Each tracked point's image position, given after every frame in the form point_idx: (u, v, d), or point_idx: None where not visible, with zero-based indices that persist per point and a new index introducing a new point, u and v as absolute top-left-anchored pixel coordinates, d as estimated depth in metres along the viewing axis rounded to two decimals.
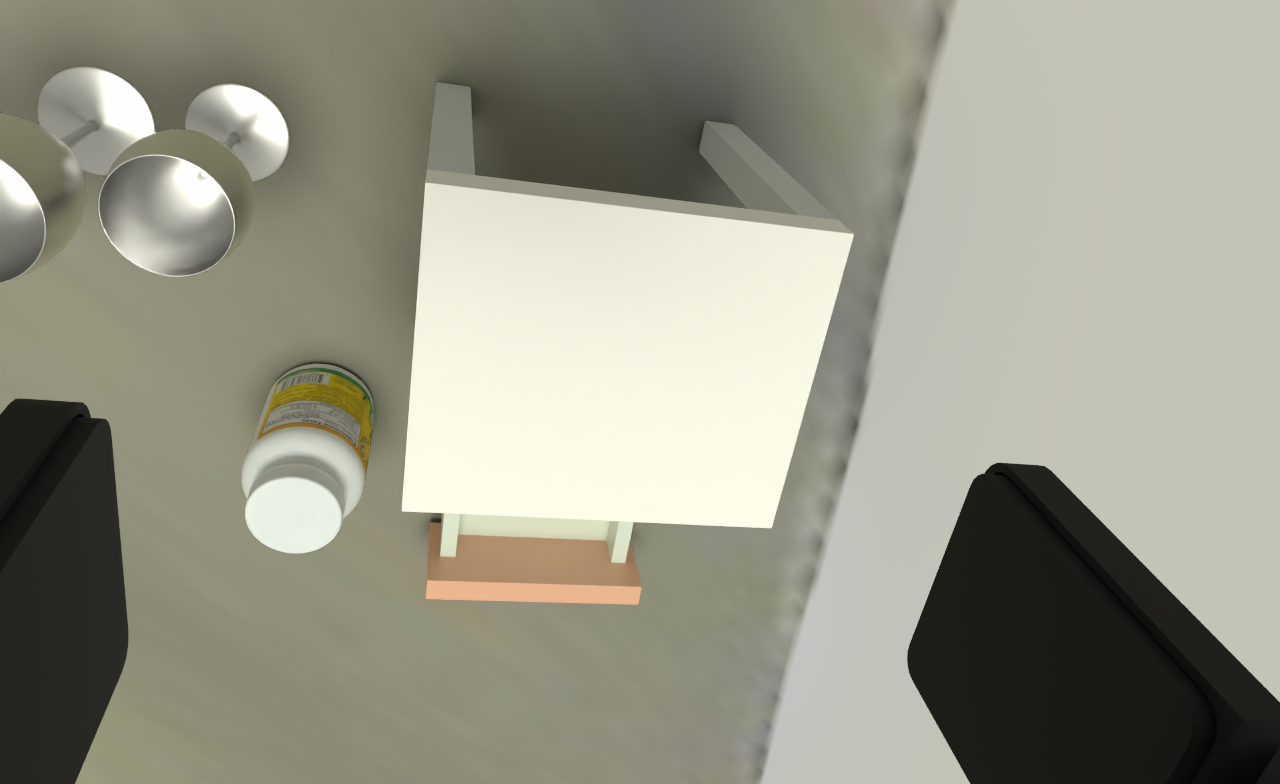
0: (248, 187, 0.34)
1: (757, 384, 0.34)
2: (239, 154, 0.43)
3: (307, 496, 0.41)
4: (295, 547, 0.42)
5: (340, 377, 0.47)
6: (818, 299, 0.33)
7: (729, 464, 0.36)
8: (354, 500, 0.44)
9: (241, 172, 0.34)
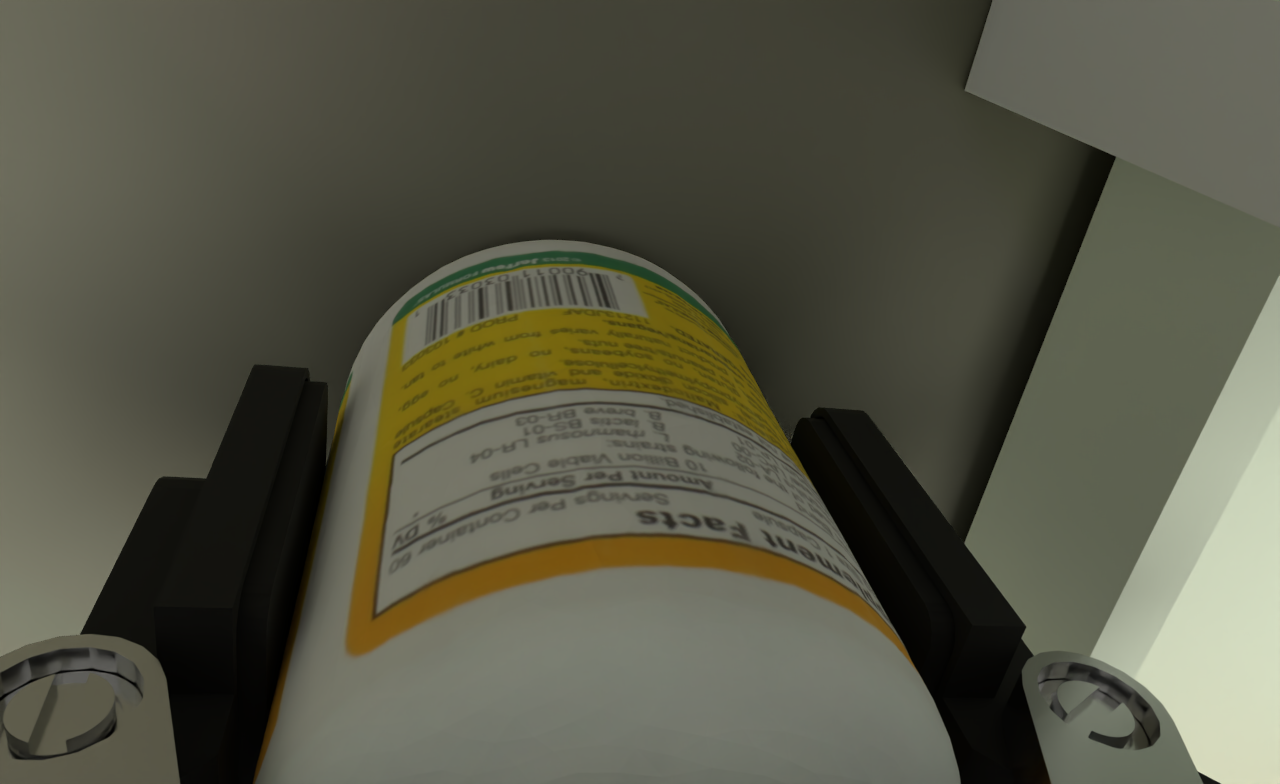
0: None
1: None
2: None
3: None
4: None
5: (668, 292, 0.11)
6: None
7: None
8: None
9: None
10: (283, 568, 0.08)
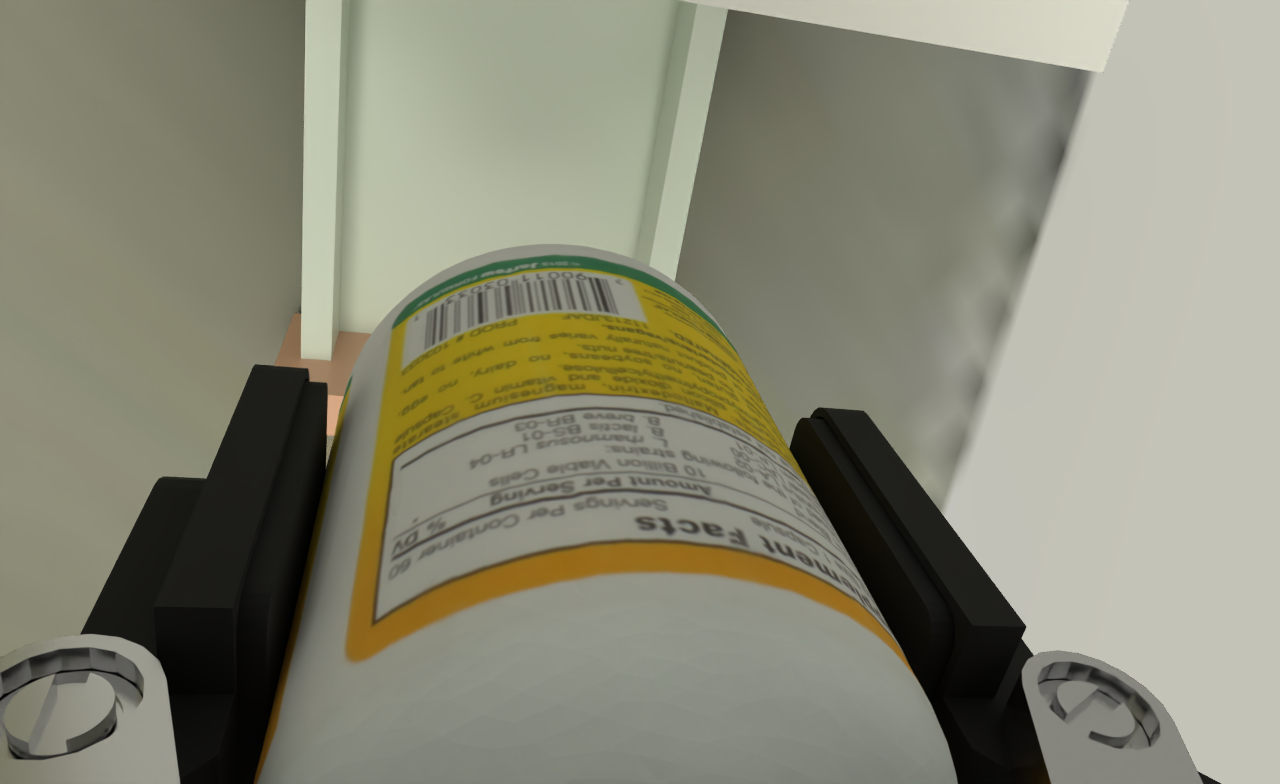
0: None
1: None
2: None
3: None
4: None
5: (667, 296, 0.11)
6: None
7: None
8: None
9: None
10: (283, 568, 0.08)
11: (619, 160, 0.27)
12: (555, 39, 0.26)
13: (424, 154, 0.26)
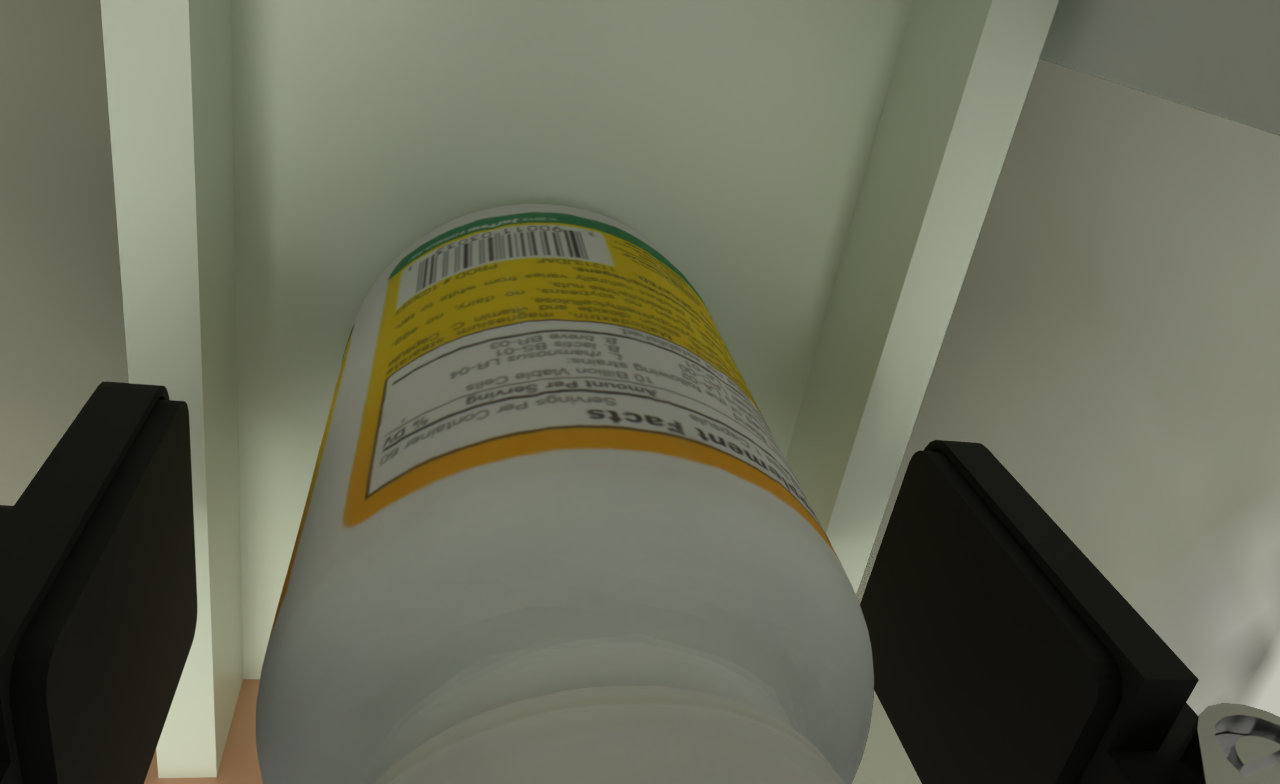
0: None
1: None
2: None
3: None
4: None
5: (636, 247, 0.12)
6: None
7: None
8: None
9: None
10: (86, 615, 0.07)
11: None
12: (641, 191, 0.13)
13: None
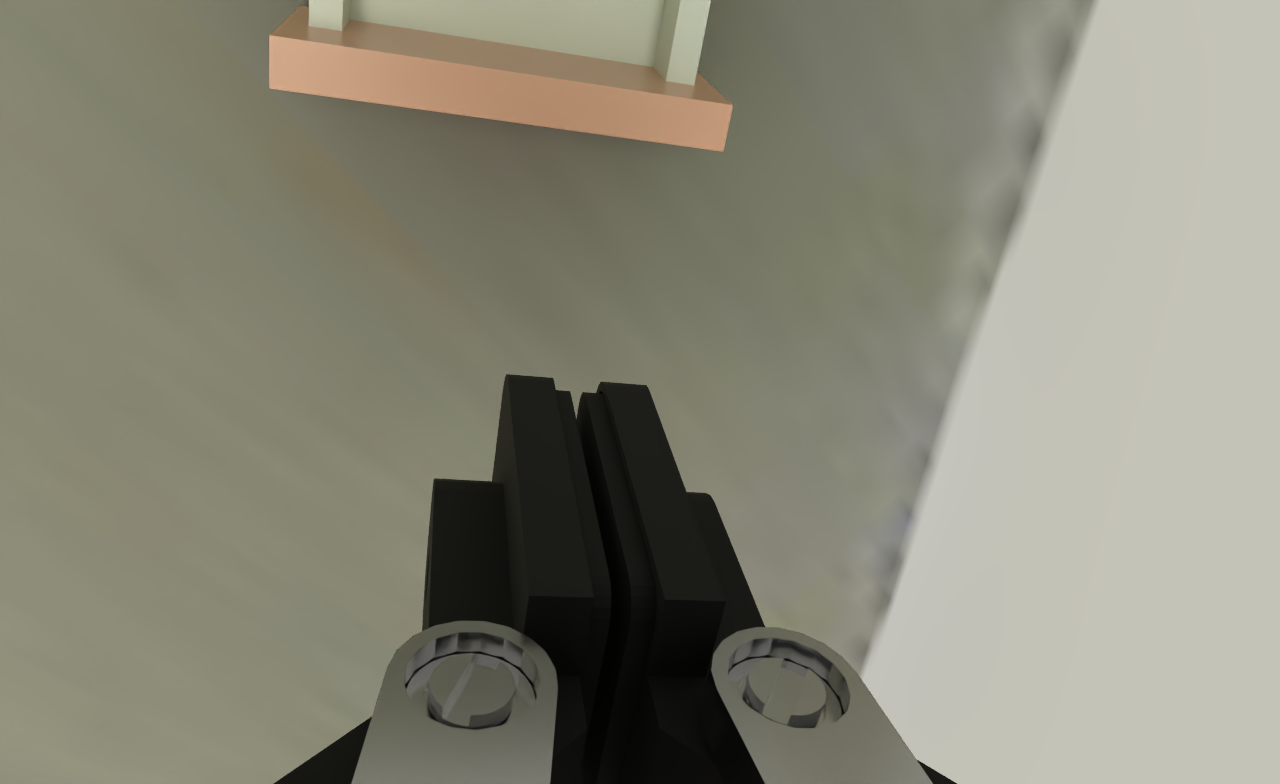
0: None
1: None
2: None
3: None
4: None
5: None
6: None
7: None
8: None
9: None
10: None
11: None
12: None
13: None
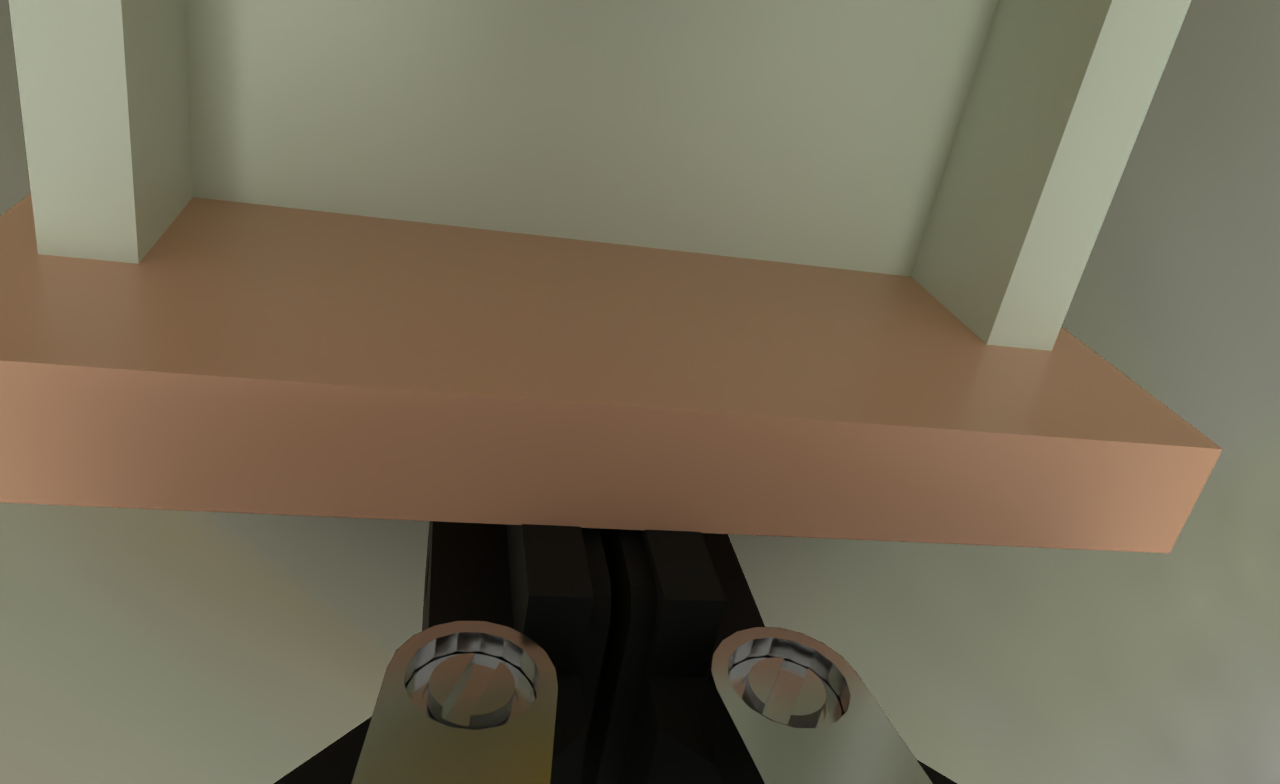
0: None
1: None
2: None
3: None
4: None
5: None
6: None
7: None
8: None
9: None
10: None
11: None
12: None
13: None
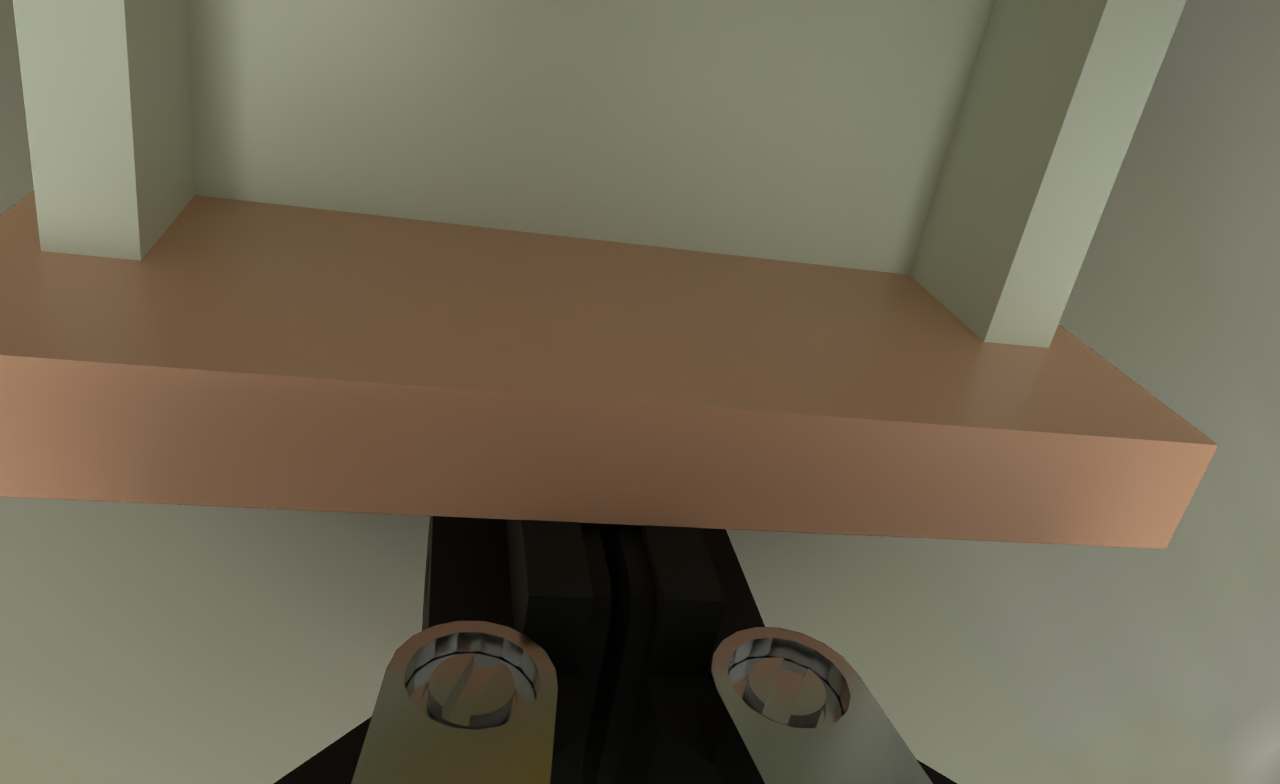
0: None
1: None
2: None
3: None
4: None
5: None
6: None
7: None
8: None
9: None
10: None
11: None
12: None
13: None
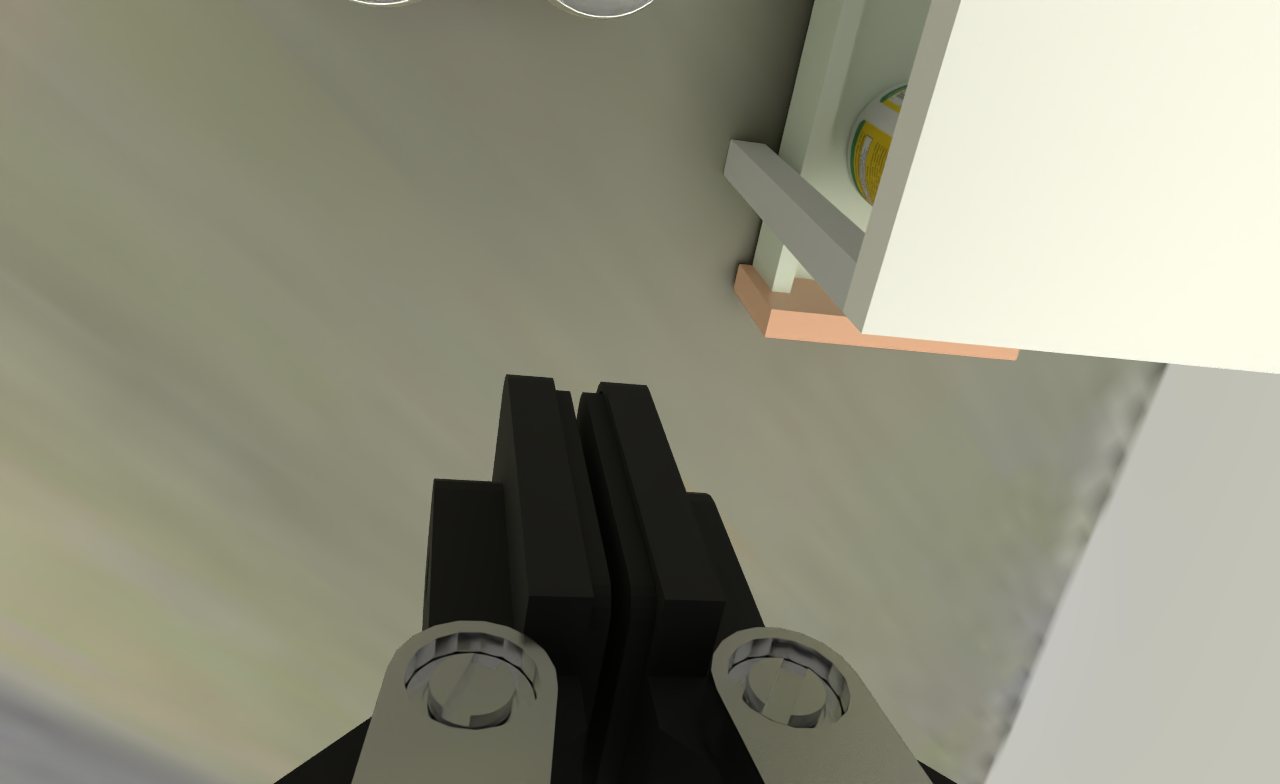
0: None
1: None
2: None
3: None
4: None
5: None
6: None
7: (1258, 281, 0.28)
8: None
9: None
10: None
11: None
12: None
13: None
